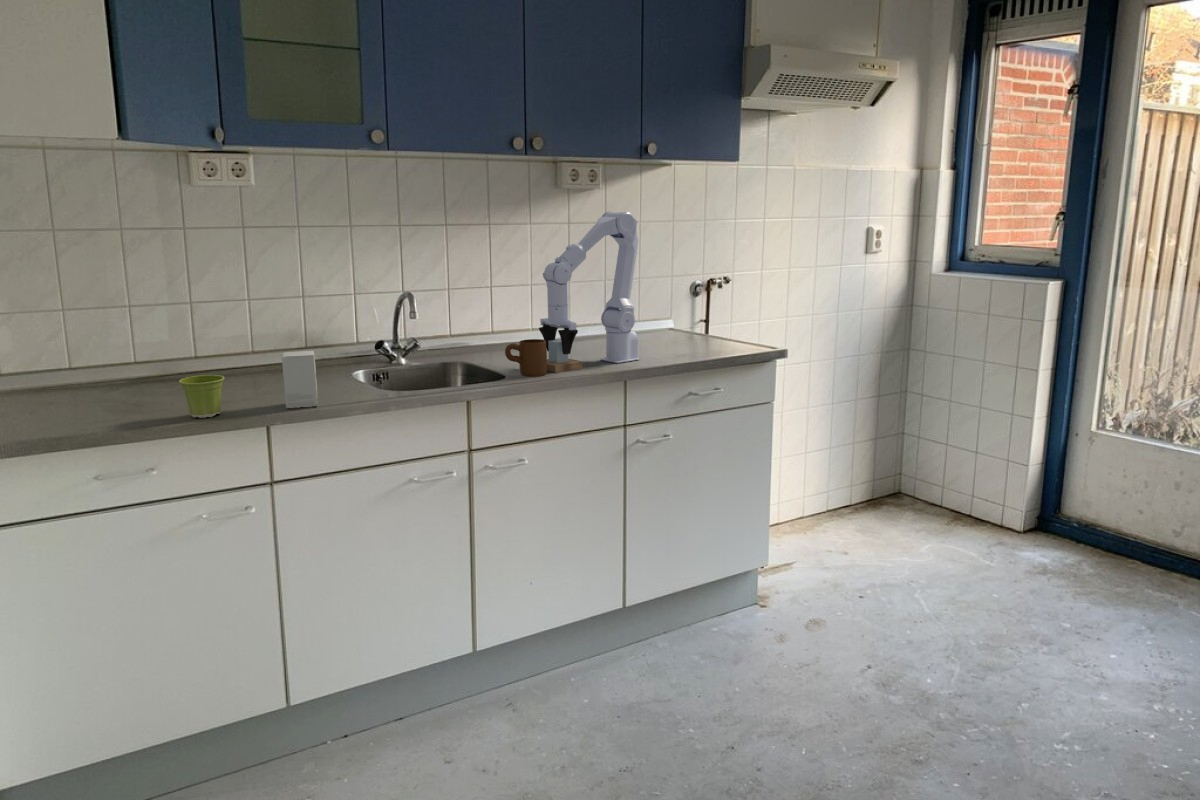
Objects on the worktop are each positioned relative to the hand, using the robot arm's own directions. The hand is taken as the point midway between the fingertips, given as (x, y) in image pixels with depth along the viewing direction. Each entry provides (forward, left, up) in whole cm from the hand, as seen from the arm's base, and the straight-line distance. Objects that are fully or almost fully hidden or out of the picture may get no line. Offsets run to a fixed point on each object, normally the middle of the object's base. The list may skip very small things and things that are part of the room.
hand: (558, 352), depth 258 cm
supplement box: (+75, -3, -5) cm, 75 cm away
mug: (+13, +2, -5) cm, 14 cm away
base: (0, 0, -5) cm, 5 cm away
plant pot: (+96, -7, -5) cm, 96 cm away
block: (0, 0, -3) cm, 3 cm away
